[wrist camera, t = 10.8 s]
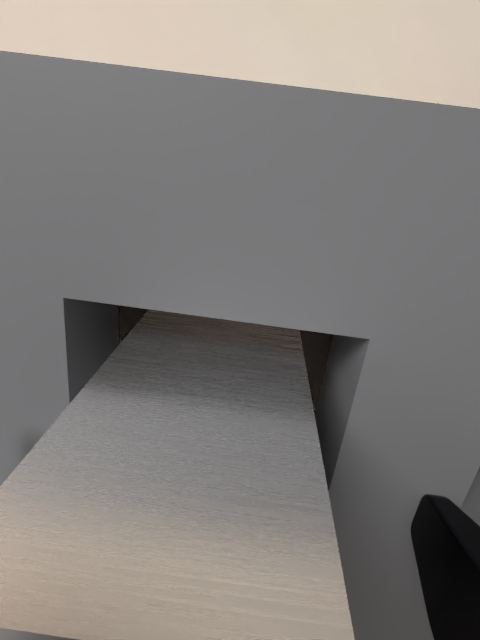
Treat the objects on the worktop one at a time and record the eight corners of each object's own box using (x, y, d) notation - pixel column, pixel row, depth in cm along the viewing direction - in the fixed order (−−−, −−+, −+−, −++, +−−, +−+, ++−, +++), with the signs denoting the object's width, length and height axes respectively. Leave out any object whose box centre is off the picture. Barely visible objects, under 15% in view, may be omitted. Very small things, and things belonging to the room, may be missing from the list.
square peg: (276, 437, 12) (286, 866, 5) (151, 420, 12) (-32, 814, 5) (298, 321, 11) (362, 682, 3) (154, 302, 11) (-106, 611, 3)
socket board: (604, 601, 14) (689, 712, 11) (52, 519, 14) (-1, 605, 11) (908, 187, 8) (1223, 198, 6) (11, 78, 9) (-107, 37, 6)
